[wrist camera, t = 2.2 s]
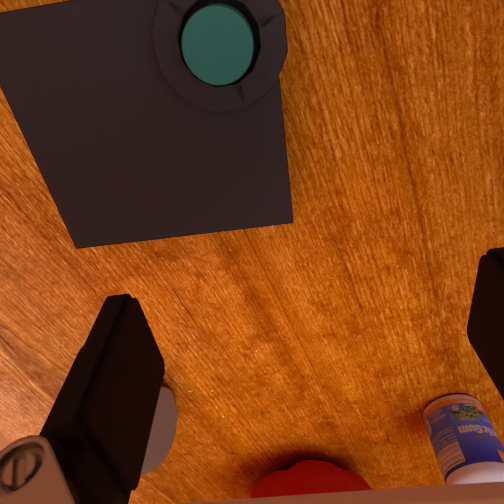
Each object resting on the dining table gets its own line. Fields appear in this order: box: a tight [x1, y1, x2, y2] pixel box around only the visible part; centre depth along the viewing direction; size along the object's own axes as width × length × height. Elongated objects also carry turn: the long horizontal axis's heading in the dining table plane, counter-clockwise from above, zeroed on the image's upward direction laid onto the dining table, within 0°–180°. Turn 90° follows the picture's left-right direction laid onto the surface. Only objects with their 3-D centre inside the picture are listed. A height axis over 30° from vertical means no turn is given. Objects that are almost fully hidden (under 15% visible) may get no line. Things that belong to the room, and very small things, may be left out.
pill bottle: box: [423, 394, 504, 485], centre depth 34 cm, size 5×5×10 cm
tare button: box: [181, 3, 254, 85], centre depth 17 cm, size 3×3×2 cm
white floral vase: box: [141, 385, 177, 474], centre depth 35 cm, size 8×10×10 cm
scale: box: [0, 0, 293, 249], centre depth 22 cm, size 14×13×4 cm
